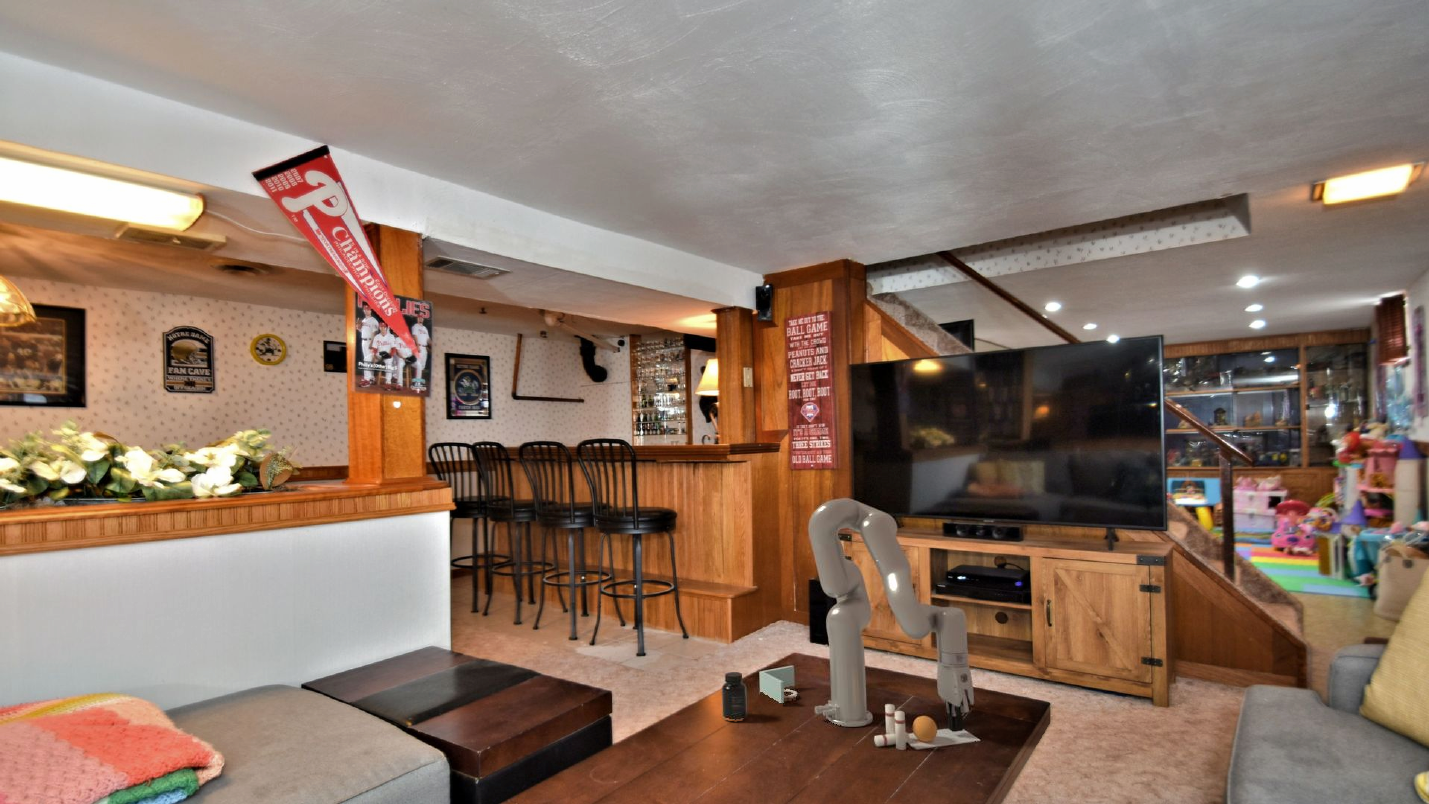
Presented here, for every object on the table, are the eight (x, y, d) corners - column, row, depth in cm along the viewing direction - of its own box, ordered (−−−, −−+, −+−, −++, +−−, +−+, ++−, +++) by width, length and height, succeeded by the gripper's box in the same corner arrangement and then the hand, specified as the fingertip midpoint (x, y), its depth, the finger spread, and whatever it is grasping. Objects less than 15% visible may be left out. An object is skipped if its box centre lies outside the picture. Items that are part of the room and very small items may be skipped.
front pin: (910, 744, 177) (878, 748, 175) (905, 740, 180) (874, 744, 178) (909, 733, 178) (878, 737, 176) (904, 730, 180) (873, 734, 178)
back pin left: (889, 742, 179) (887, 707, 179) (884, 738, 181) (883, 704, 182) (898, 741, 179) (896, 706, 180) (893, 737, 182) (892, 703, 182)
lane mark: (916, 749, 174) (916, 748, 174) (898, 735, 183) (898, 734, 183) (980, 740, 179) (980, 739, 179) (959, 727, 187) (959, 726, 187)
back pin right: (899, 750, 174) (897, 714, 175) (894, 746, 176) (892, 711, 177) (908, 749, 175) (906, 713, 175) (903, 745, 177) (901, 710, 178)
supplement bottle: (750, 715, 200) (749, 671, 201) (743, 723, 193) (742, 678, 194) (727, 712, 202) (726, 669, 203) (719, 721, 196) (718, 676, 197)
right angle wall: (781, 708, 206) (780, 682, 207) (760, 696, 217) (759, 671, 217) (815, 701, 212) (814, 675, 212) (792, 689, 222) (792, 665, 223)
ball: (931, 714, 177) (946, 732, 178) (918, 707, 183) (933, 725, 183) (916, 732, 176) (931, 750, 176) (903, 725, 181) (918, 742, 182)
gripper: (982, 663, 177) (986, 739, 176) (949, 648, 192) (952, 718, 190) (956, 666, 175) (959, 743, 174) (924, 650, 190) (927, 721, 188)
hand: (955, 729), depth 182 cm, fingers closed
